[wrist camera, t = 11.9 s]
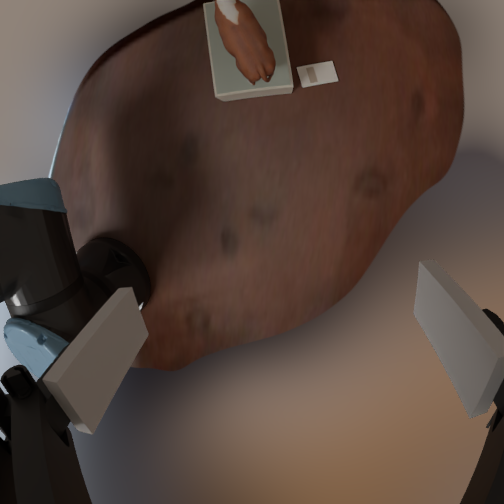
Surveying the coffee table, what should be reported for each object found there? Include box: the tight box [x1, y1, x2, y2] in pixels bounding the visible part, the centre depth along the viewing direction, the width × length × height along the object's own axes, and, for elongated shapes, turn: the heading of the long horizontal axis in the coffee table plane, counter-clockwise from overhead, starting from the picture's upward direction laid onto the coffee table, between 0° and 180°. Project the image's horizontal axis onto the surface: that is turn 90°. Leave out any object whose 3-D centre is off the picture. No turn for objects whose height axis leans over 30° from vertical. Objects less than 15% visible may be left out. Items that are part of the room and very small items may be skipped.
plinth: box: [203, 0, 293, 102], centre depth 32 cm, size 9×13×6 cm
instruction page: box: [296, 61, 338, 88], centre depth 35 cm, size 5×3×1 cm, turn 105°
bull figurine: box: [214, 0, 276, 85], centre depth 25 cm, size 4×13×8 cm, turn 17°
